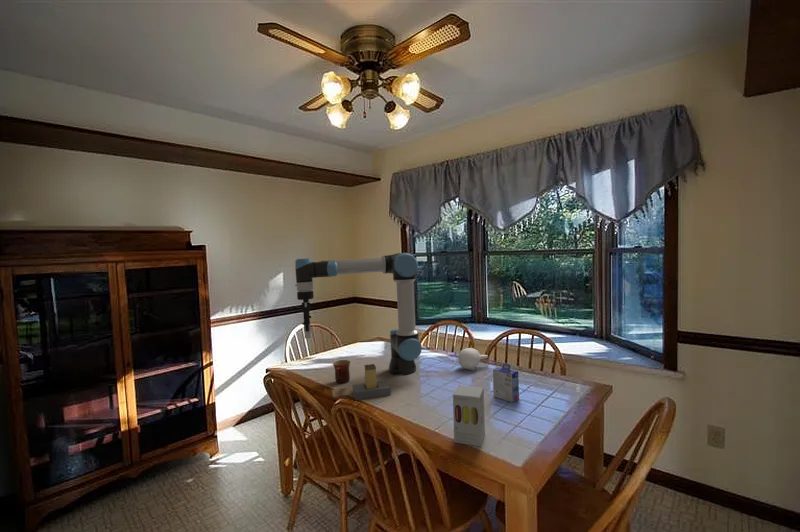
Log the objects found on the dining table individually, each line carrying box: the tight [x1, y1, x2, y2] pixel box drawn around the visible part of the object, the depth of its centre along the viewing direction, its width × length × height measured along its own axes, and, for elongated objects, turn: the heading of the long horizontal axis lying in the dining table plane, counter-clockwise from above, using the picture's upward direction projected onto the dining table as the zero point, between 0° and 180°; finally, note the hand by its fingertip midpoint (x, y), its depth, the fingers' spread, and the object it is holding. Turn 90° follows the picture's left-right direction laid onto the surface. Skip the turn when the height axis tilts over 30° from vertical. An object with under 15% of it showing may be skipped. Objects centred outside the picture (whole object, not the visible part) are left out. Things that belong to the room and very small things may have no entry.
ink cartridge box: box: [492, 362, 520, 403], centre depth 156 cm, size 10×6×14 cm, turn 42°
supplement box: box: [452, 384, 486, 448], centre depth 125 cm, size 10×9×17 cm
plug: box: [364, 363, 377, 389], centre depth 167 cm, size 4×4×13 cm
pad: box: [331, 386, 353, 398], centre depth 171 cm, size 9×9×1 cm
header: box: [352, 379, 392, 401], centre depth 167 cm, size 16×10×4 cm, turn 104°
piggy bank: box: [457, 347, 489, 371], centre depth 198 cm, size 12×12×15 cm
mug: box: [332, 359, 351, 385], centre depth 184 cm, size 12×9×10 cm
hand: (307, 334), depth 173 cm, fingers open, 13 cm apart
